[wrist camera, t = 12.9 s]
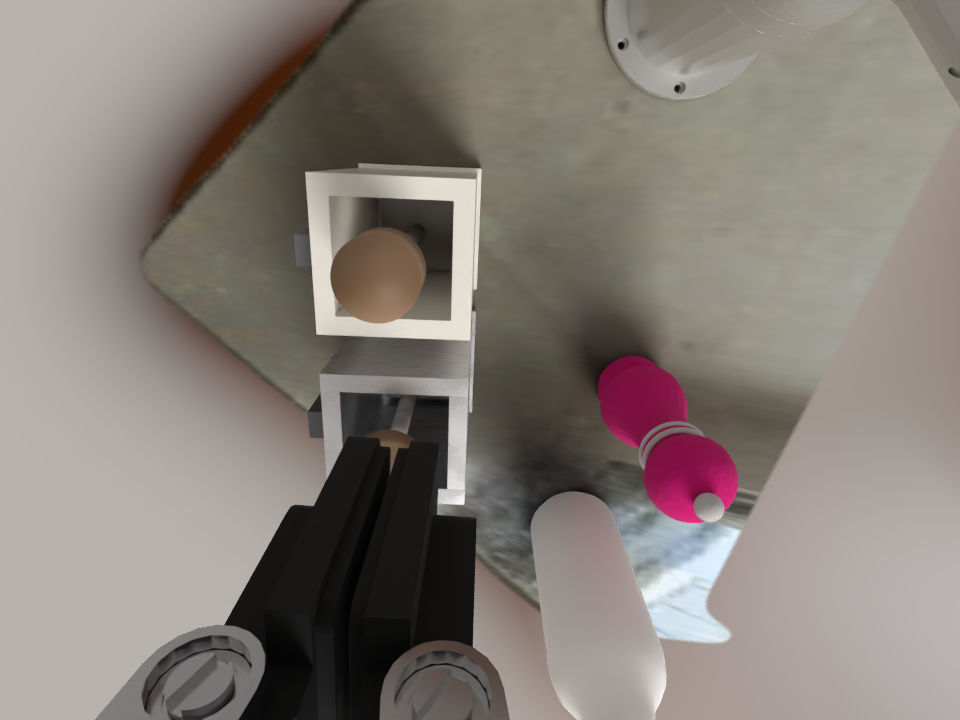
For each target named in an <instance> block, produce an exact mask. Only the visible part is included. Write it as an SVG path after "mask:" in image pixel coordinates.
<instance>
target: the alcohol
mask: <svg viewBox="0 0 960 720" xmlns="http://www.w3.org/2000/svg"><path fill="white" fill-rule="evenodd" d="M530 527H531V539H532V547H533V554H534V562H535V569H536V577H537V585H538V592H539V600H540V608H541V615H542V623H543V630H544V638H545V646H546V653H547V660H548V669H549V675H550V678H551V681H552V683H553V686H554V688H555V691H556V693H557V696H558V698H559V700H560V701H561V703H562V705H563V706H564V707H565V708H566V709H567V710H568V711H569V712H570V713H571V714H572V715H573V716H574V717H575V718H576V719H578V720H655V711H656V709H657V707H658V706H659V704H660V702H661V699H662V696H663V693H664V690H665V687H666V668H665V659H664V653H663V650H662V647H661V645H660V642H659V639H658V636H657V633H656V631H655V628H654V625H653V623H652V620H651V617H650V614H649V612H648V609H647V606H646V604H645V601H644V598H643V595H642V593H641V590H640V587H639V585H638V582H637V579H636V576H635V574H634V571H633V568H632V566H631V563H630V560H629V557H628V555H627V552H626V549H625V547H624V544H623V541H622V538H621V536H620V533H619V530H618V528H617V525H616V522H615V519H614V517H613V514H612V512H611V510H610V509H609V507H608V506H607V505H606V504H605V503H604V502H603V501H602V500H600V499H599V498H597V497H595V496H593V495H590V494H586V493H583V492H577V491H570V492H563V493H559V494H557V495H554V496H552V497H551V498H549V499H548V500H546V501H545V502H544V503H543V504H542V505H541V506H540V507H539V508H538V509H537V511H536V512H535V514H534V516H533V518H532V521H531V526H530Z"/></svg>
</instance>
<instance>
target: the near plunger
mask: <svg viewBox="0 0 960 720" xmlns="http://www.w3.org/2000/svg"><path fill="white" fill-rule="evenodd" d="M453 214H454V201H443V200H419V199H396V198H381V227H377V228H372V229H369V230H367V231H365V232H363V233H361V234H360V235H358V236H357V237H355V238H353V239H352V240H350V241H349V242H347V243H346V244H345V245H344V246H342V247H341V249H340V250H339V251H338V252H337V254H336V256H335V257H334V260H333V262H332V266H331V271H330V281H331V287H332V290H333V293H334V295H335V297H336V299H337V301H338V302H339V304H340V305H341V306H342V307H343V308H344V309H345V310H346V311H347V312H348V313H349V314H351V315H352V316H354V317H355V318H357V319H359V320H362V321H365V322H369V323H376V324H380V323H388V322H392V321H394V320H397V319H399V318H401V317H402V316H404V315H405V314H406V313H407V312H408V311H409V310H410V309H411V308H412V306H413V305H414V304H415V302H416V300H417V298H418V295H419V293H420V291H421V289H422V287H423V284H424V281H425V277H426V268H436V269H452V258H453Z"/></svg>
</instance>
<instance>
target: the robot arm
mask: <svg viewBox="0 0 960 720" xmlns="http://www.w3.org/2000/svg"><path fill="white" fill-rule="evenodd" d="M871 1H872V0H605V8H604V21H605V33H606V37H607V41H608V45H609V49H610V51H611V53H612V56H613V58H614V60H615V62H616V64H617V66H618V67H619V68H620V70H621V71H622V73H623V74H624V76H625V77H626V78H627V79H628V80H630V81H631V82H632V83H633V84H634V85H635V86H636V87H638V88H639V89H641V90H643V91H644V92H646V93H648V94H649V95H653V96H656V97H659V98H662V99H669V100H686V99H694V98H697V97H701V96H705V95H707V94H710V93H712V92H714V91H717V90H719V89H721V88H723V87H724V86H726V85H727V84H729V83H730V82H732V81H733V80H735V79H736V78H737V77H738V76H739V75H740V74H741V73H742V72H743V71H744V70H745V69H746V68H748V66H749V65H750V64H751V63H752V61H753V60H754V59H755V58H756V57H757V55H758V54H759V52H761V51H763V50H766V49H769V48H771V47H774V46H777V45H779V44H782V43H784V42H787V41H790V40H792V39H795V38H798V37H800V36H803V35H805V34H808V33H811V32H813V31H816V30H819V29H821V28H824V27H826V26H828V25H831V24H834V23H836V22H838V21H840V20H842V19H844V18H846V17H848V16H850V15H851V14H853V13H855V12H856V11H858V10H860V9H861V8H863V7H864V6H865V5H867V4H868V3H870V2H871ZM892 2H893V3H895V4H897V5H898V7H899V8H900V10H901V12H902V13H903V15H904V17H905V18H906V20H907V22H908V23H909V25H910V27H911V28H912V30H913V32H914V33H915V35H916V37H917V38H918V40H919V42H920V43H921V45H922V47H923V48H924V50H925V52H926V54H927V55H928V57H929V59H930V60H931V62H932V64H933V65H934V67H935V69H936V70H937V72H938V74H939V75H940V77H941V79H942V80H943V82H944V84H945V85H946V87H947V89H948V90H949V91H950V93H951V95H952V96H953V98H954V99H955V101H956V103H957V104H958V106H959V107H960V0H892ZM618 43H622V44H623V49H619V48H618ZM675 86H678V87H679V91H678V92H675V91H674V87H675ZM440 450H441V443H437V442H424V441H411V442H410V445H409V448H398V451H397V454H396V457H395V461H394V464H393V467H392V471H391V474H390V465H391V450H390V447H385V446H381V444H380V439H379V438H370V437H356V436H348V438H347V439H346V442H345V444H344V446H343V448H342V450H341V452H340V454H339V456H338V458H337V460H336V462H335V464H334V466H333V468H332V470H331V472H330V474H329V476H328V478H327V480H326V482H325V484H324V487H323V488H322V490H321V493H320V495H319V497H318V499H317V501H316V503H315V505H314V506H304V505H293V506H292V507H290V509H289V510H288V512H287V513H286V515H285V517H284V519H283V520H282V522H281V524H280V526H279V528H278V530H277V531H276V533H275V535H274V537H273V538H272V540H271V542H270V544H269V545H268V547H267V549H266V551H265V553H264V555H263V556H262V558H261V560H260V562H259V563H258V565H257V567H256V569H255V571H254V572H253V574H252V576H251V578H250V580H249V582H248V583H247V585H246V587H245V589H244V590H243V592H242V594H241V596H240V598H239V600H238V601H237V603H236V605H235V607H234V608H233V610H232V612H231V614H230V616H229V618H228V619H227V621H226V623H225V625H215V626H209V627H204V628H198V629H195V630H193V631H190V632H188V633H185V634H183V635H180V636H178V637H176V638H175V639H173V640H171V641H170V642H168V643H167V644H165V645H163V646H162V647H160V648H159V649H158V650H157V651H156V652H155V653H153V654H152V655H151V656H150V657H149V658H148V659H147V660H146V661H145V662H144V663H143V664H142V665H141V666H140V668H139V669H138V670H137V671H136V672H135V673H134V675H133V676H132V677H131V678H130V680H128V682H127V683H126V684H125V685H124V686H123V687H122V689H121V690H120V691H119V692H118V693H117V694H116V696H115V697H114V698H113V699H112V700H111V701H110V703H109V704H108V705H107V706H106V707H105V708H104V710H103V711H102V712H101V713H100V714H99V716H98V717H97V718H96V719H95V720H510V719H509V714H508V708H507V703H506V698H505V692H504V687H503V685H502V682H501V679H500V676H499V674H498V671H497V670H496V669H495V667H494V666H493V665H492V663H491V662H490V661H489V659H488V658H487V657H486V656H484V655H483V654H482V653H480V652H479V651H477V650H476V649H475V648H473V617H474V584H475V551H476V518H470V517H457V516H443V515H437V503H438V486H439V468H440Z"/></svg>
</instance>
